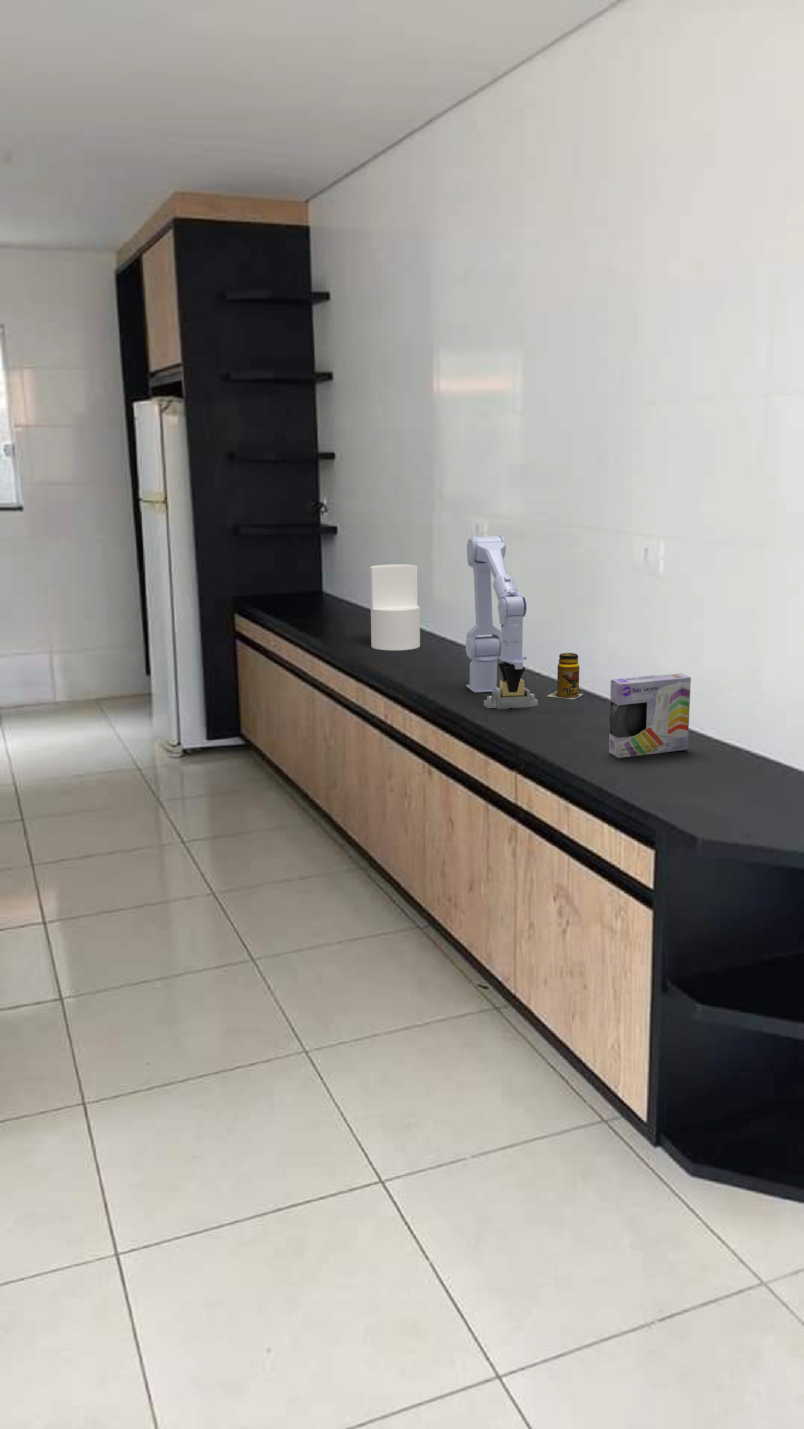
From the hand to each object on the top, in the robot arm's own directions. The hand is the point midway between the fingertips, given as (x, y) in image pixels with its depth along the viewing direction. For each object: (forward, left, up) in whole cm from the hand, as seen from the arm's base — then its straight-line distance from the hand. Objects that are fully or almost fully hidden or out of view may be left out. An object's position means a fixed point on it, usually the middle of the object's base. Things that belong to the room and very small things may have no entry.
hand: (511, 690), depth 304 cm
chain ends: (0, 0, -4) cm, 4 cm away
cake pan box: (+53, +16, -4) cm, 56 cm away
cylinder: (-101, -13, -4) cm, 102 cm away
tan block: (0, 0, -3) cm, 3 cm away
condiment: (-9, +18, -4) cm, 21 cm away
